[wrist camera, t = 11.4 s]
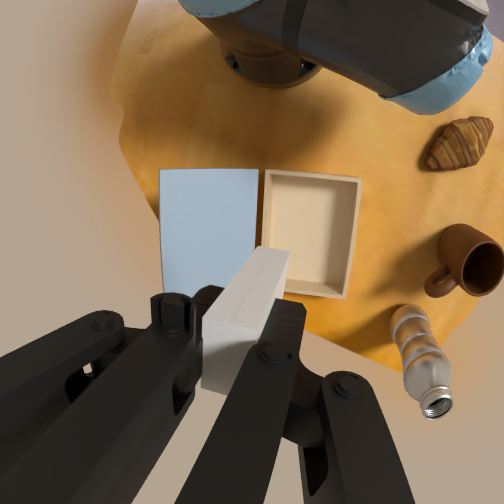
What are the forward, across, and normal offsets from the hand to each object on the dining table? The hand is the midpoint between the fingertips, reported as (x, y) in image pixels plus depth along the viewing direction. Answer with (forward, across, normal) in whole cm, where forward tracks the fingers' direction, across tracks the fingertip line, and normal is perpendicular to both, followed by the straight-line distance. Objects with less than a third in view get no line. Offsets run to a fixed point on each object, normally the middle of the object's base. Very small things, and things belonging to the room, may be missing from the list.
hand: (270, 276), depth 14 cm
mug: (+29, +22, -4) cm, 36 cm away
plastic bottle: (+28, +19, -15) cm, 37 cm away
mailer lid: (+20, -10, -5) cm, 23 cm away
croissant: (+29, +20, +12) cm, 38 cm away
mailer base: (+28, +1, -4) cm, 29 cm away
